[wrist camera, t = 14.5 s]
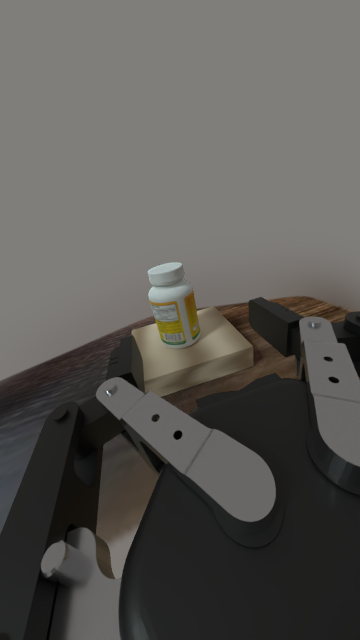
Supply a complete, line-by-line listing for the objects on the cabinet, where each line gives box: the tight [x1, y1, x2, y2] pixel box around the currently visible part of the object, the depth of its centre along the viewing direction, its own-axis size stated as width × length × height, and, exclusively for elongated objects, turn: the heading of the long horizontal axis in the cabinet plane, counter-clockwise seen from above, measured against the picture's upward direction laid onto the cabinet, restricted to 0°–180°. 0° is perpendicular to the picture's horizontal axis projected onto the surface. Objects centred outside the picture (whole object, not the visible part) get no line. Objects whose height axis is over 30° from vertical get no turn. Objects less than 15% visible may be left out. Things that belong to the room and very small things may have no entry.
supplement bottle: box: [148, 262, 200, 349], centre depth 23 cm, size 5×5×10 cm
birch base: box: [132, 306, 254, 397], centre depth 26 cm, size 14×12×3 cm
